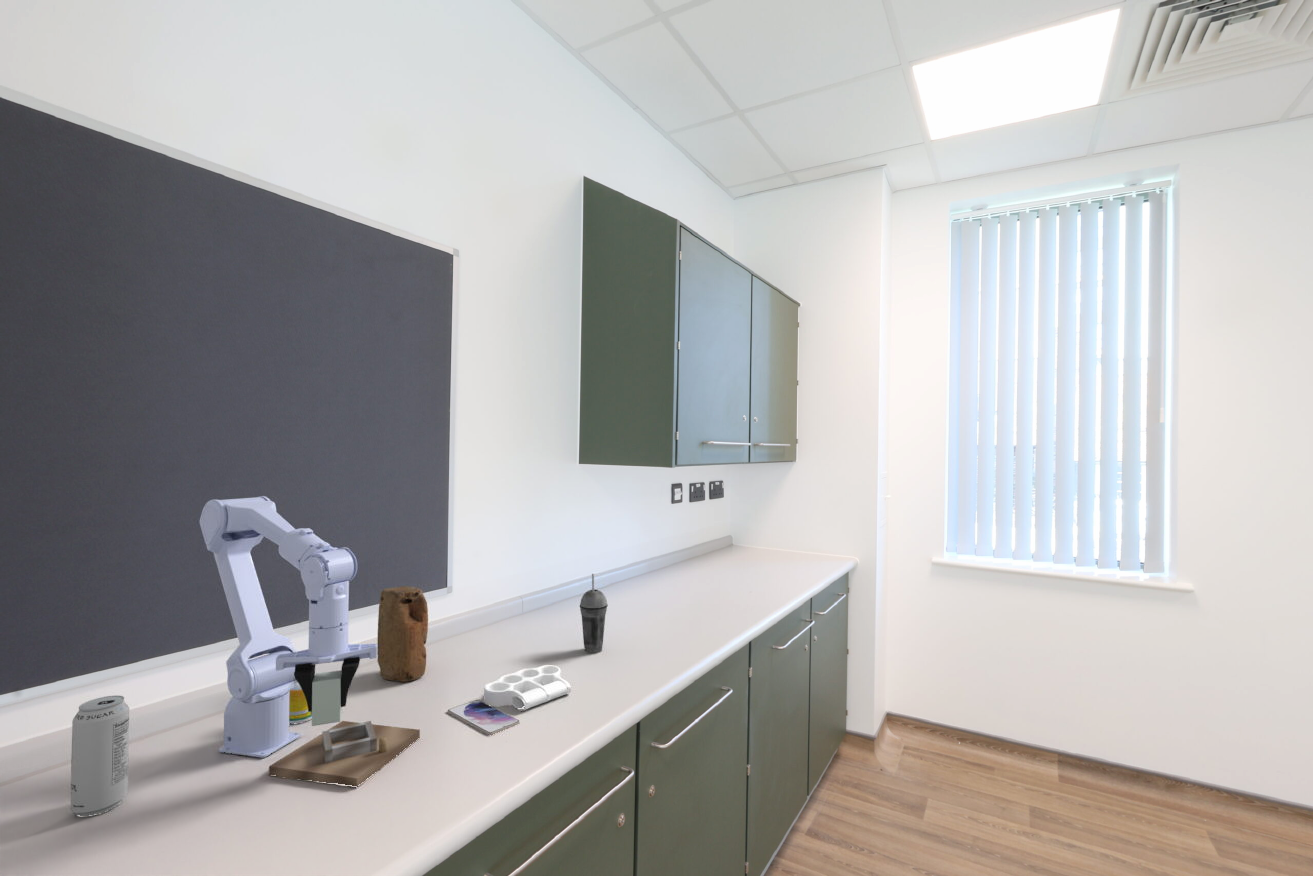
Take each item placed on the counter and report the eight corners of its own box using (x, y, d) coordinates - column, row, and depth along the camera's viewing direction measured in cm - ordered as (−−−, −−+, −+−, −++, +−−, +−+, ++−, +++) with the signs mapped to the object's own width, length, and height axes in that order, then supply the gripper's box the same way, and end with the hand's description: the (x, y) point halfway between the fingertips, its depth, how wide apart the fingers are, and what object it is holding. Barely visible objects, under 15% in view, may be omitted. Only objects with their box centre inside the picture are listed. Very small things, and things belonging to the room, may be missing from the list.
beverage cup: (609, 646, 156) (610, 570, 156) (604, 655, 148) (605, 576, 149) (582, 645, 156) (583, 569, 157) (576, 654, 149) (576, 575, 149)
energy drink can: (82, 800, 87) (84, 697, 87) (134, 791, 89) (136, 691, 89) (61, 824, 81) (63, 714, 81) (117, 813, 84) (119, 707, 84)
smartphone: (477, 699, 122) (521, 721, 112) (477, 703, 122) (521, 725, 112) (445, 709, 116) (489, 733, 106) (445, 714, 116) (489, 738, 106)
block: (373, 676, 134) (374, 588, 135) (403, 666, 141) (404, 582, 141) (403, 687, 128) (404, 595, 129) (432, 675, 135) (433, 588, 135)
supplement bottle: (286, 715, 115) (287, 665, 115) (317, 710, 117) (318, 661, 117) (282, 727, 110) (282, 675, 110) (315, 721, 112) (315, 671, 112)
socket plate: (268, 775, 93) (269, 753, 93) (342, 729, 109) (342, 710, 109) (356, 788, 90) (357, 765, 90) (419, 738, 106) (419, 718, 106)
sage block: (311, 726, 94) (312, 682, 94) (315, 715, 98) (315, 673, 98) (339, 721, 96) (340, 678, 96) (342, 711, 99) (342, 670, 100)
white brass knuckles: (510, 720, 114) (471, 698, 124) (582, 692, 127) (542, 674, 137) (510, 703, 114) (471, 682, 124) (583, 676, 127) (542, 660, 137)
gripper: (272, 636, 91) (270, 725, 90) (376, 625, 96) (375, 709, 96) (281, 623, 97) (279, 706, 97) (378, 614, 103) (377, 692, 103)
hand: (327, 706), depth 97 cm, fingers closed on sage block, 4 cm apart
